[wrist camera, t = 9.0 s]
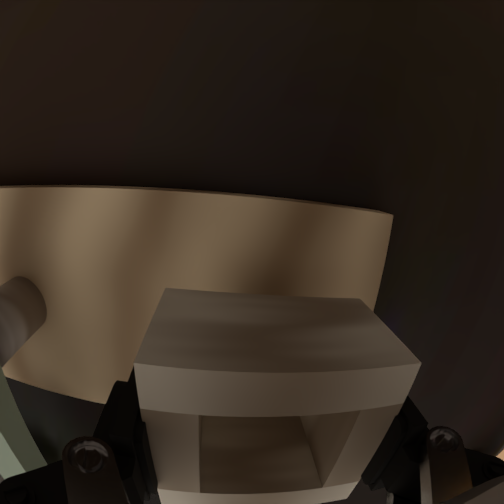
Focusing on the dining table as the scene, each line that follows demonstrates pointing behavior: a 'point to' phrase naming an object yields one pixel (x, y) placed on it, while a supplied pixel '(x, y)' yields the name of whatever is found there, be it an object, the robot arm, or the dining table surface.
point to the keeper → (15, 437)
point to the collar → (266, 395)
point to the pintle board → (157, 268)
